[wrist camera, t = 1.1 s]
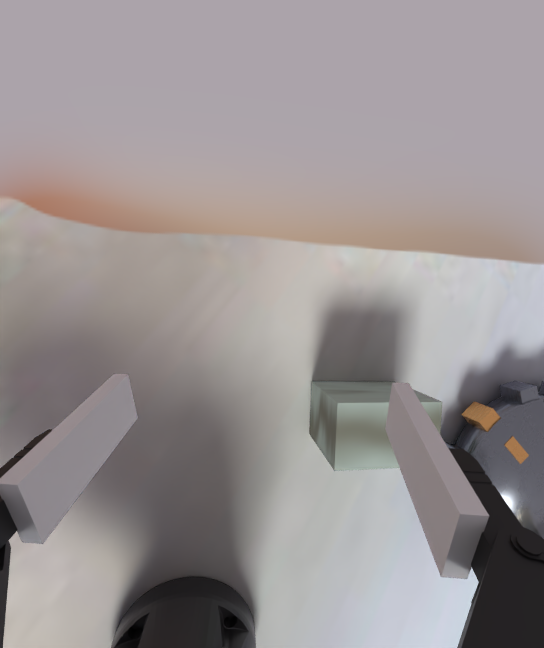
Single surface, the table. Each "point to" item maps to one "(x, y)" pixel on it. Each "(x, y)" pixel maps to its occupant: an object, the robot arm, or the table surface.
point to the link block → (357, 423)
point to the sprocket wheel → (511, 448)
